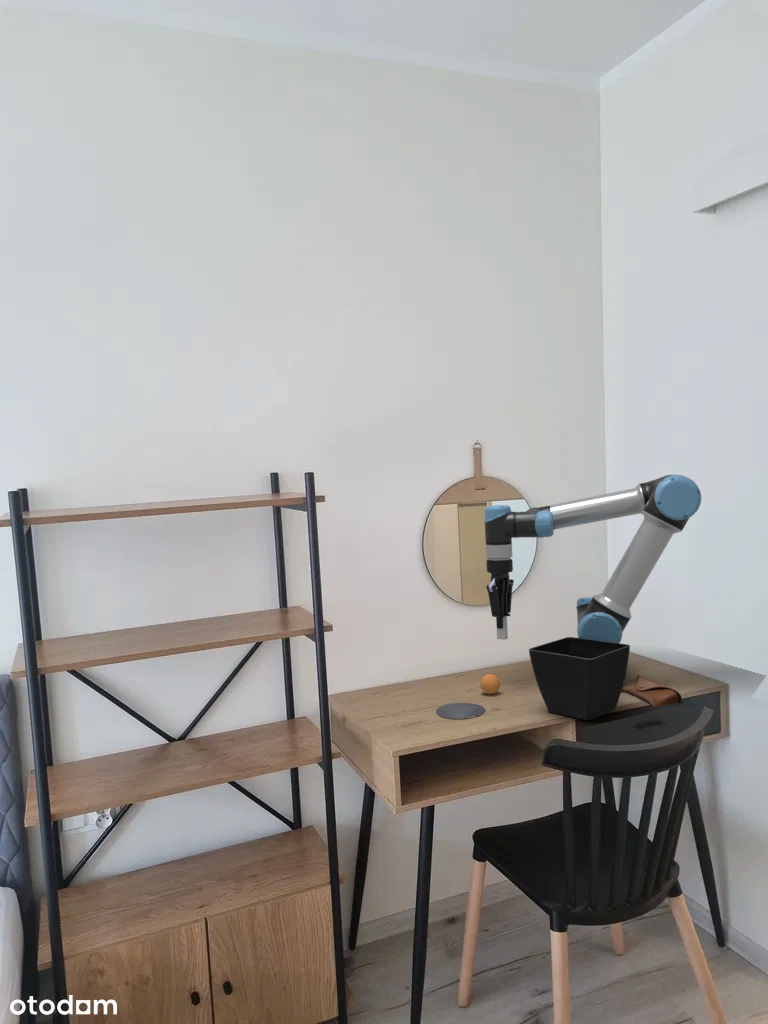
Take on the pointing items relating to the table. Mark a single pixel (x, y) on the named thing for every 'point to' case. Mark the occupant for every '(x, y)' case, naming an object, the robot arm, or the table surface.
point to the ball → (490, 684)
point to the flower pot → (580, 675)
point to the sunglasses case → (651, 692)
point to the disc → (460, 710)
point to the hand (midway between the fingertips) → (502, 638)
